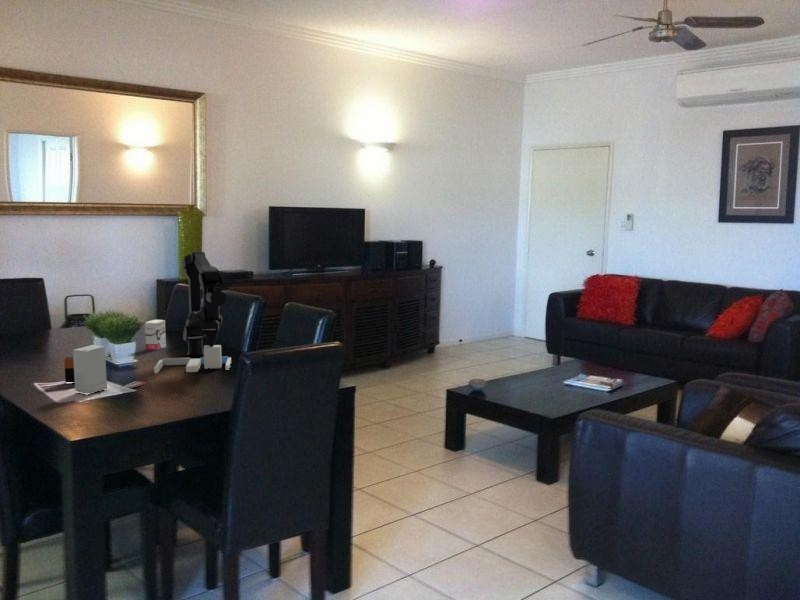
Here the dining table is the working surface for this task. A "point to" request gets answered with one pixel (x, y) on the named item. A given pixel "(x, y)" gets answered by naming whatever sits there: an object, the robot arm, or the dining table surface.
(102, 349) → the skincare box
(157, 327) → the ink box
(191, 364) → the duct rack
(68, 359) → the battery
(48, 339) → the dining table surface
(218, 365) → the plug block
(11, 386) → the dining table surface
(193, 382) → the dining table surface
